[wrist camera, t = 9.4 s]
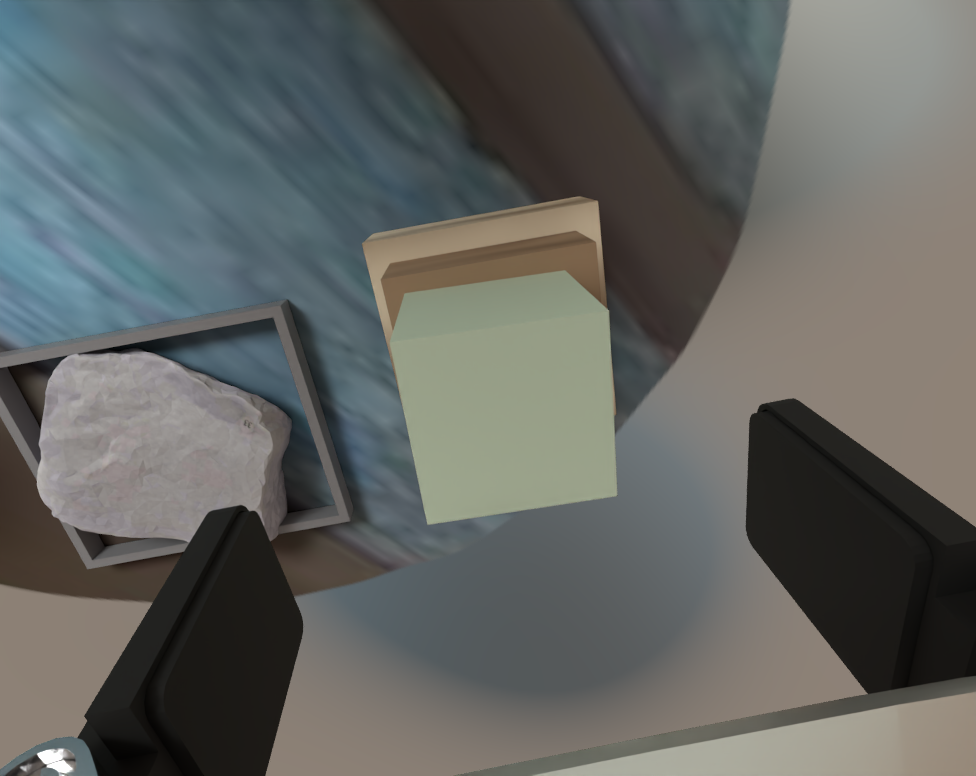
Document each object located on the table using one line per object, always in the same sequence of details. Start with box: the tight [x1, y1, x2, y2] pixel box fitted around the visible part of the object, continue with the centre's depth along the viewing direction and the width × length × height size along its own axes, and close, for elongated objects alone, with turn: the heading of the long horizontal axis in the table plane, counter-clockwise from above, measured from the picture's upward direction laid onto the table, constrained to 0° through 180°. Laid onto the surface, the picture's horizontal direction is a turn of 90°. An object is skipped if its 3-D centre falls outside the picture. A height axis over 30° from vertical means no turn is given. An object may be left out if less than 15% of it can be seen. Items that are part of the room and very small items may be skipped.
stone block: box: [37, 348, 292, 542], centre depth 29 cm, size 12×5×10 cm
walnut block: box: [381, 231, 601, 330], centre depth 23 cm, size 8×8×4 cm
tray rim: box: [0, 300, 354, 569], centre depth 29 cm, size 12×15×1 cm
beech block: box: [362, 196, 616, 415], centre depth 27 cm, size 10×10×4 cm
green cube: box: [390, 270, 617, 525], centre depth 19 cm, size 6×6×6 cm
